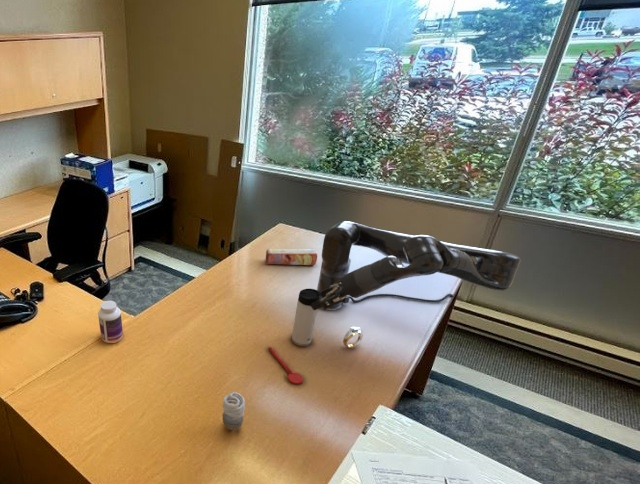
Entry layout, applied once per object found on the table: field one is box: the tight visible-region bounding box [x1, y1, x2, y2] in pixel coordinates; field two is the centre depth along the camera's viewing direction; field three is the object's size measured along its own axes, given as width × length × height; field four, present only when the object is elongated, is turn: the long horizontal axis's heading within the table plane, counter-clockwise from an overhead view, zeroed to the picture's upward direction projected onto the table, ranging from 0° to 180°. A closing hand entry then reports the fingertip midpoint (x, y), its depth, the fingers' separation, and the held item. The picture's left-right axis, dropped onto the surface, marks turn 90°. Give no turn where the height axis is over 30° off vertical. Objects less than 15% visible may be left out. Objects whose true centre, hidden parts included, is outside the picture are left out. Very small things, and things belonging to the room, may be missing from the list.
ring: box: [342, 326, 364, 349], centre depth 136 cm, size 7×3×8 cm, turn 104°
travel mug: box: [291, 288, 322, 347], centre depth 137 cm, size 6×7×20 cm
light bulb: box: [222, 391, 246, 431], centre depth 110 cm, size 6×6×12 cm
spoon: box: [268, 346, 304, 386], centre depth 132 cm, size 17×4×1 cm, turn 14°
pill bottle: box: [97, 300, 124, 344], centre depth 147 cm, size 8×8×14 cm
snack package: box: [265, 248, 318, 266], centre depth 187 cm, size 21×7×7 cm, turn 79°
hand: (316, 301), depth 132 cm, fingers open, 8 cm apart
